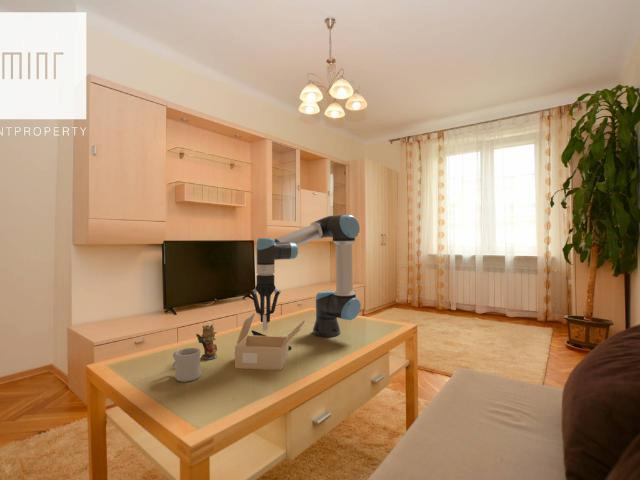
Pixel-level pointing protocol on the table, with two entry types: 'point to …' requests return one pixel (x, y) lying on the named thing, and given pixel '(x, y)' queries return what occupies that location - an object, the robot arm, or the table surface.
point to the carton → (261, 353)
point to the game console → (264, 335)
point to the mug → (187, 364)
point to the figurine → (208, 342)
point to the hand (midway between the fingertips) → (265, 329)
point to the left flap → (245, 328)
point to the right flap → (293, 333)
